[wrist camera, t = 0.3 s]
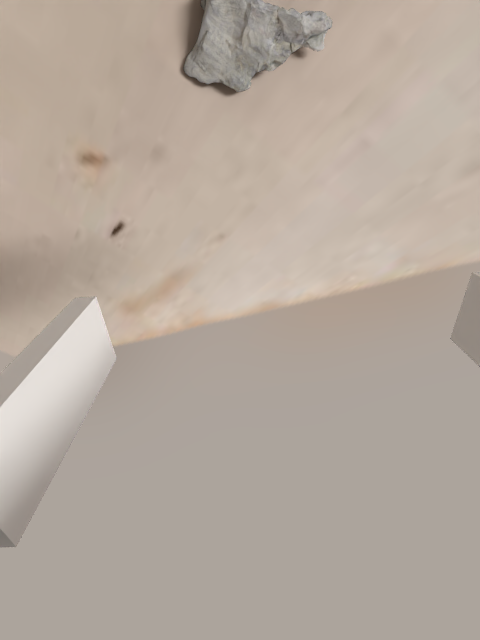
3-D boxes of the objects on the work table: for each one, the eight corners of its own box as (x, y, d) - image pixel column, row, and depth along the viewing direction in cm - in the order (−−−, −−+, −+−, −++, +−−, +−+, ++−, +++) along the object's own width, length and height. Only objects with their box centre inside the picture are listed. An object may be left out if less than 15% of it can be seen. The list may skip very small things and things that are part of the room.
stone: (305, 108, 32) (315, 103, 28) (183, 81, 30) (178, 73, 27) (324, 23, 29) (338, 7, 25) (190, -10, 27) (184, -33, 24)
